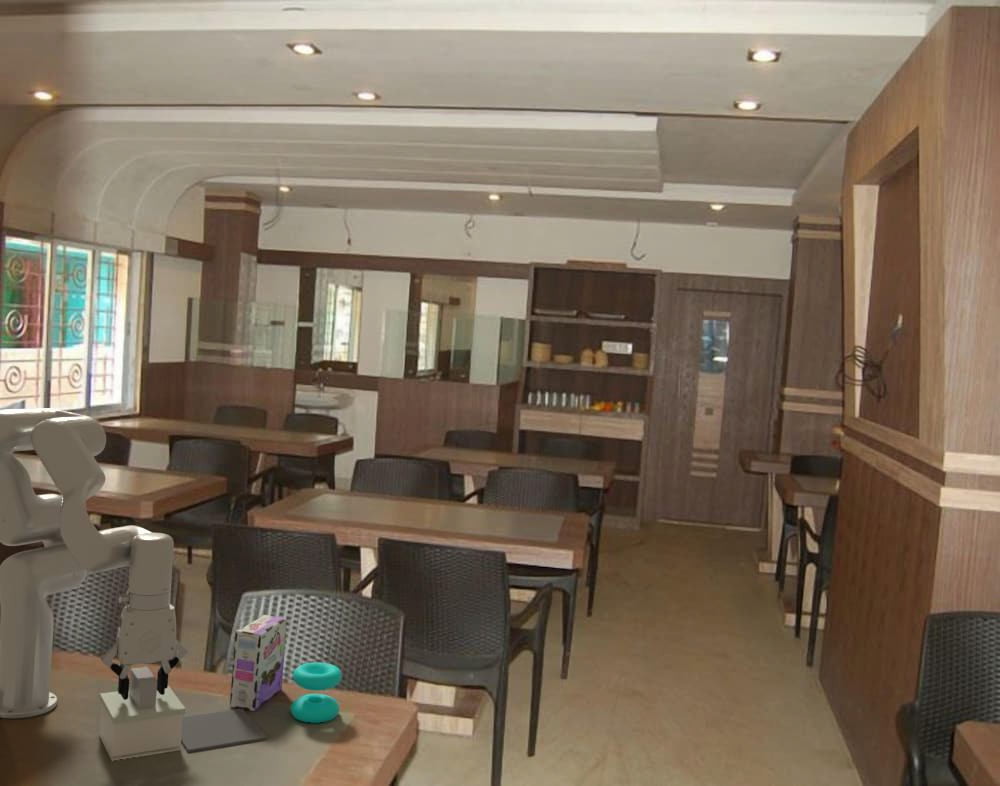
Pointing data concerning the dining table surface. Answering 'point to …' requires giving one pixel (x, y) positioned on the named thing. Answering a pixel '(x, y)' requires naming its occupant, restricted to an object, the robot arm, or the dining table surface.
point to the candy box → (258, 662)
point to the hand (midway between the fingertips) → (142, 693)
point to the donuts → (316, 705)
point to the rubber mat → (219, 730)
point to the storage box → (140, 736)
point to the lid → (141, 700)
